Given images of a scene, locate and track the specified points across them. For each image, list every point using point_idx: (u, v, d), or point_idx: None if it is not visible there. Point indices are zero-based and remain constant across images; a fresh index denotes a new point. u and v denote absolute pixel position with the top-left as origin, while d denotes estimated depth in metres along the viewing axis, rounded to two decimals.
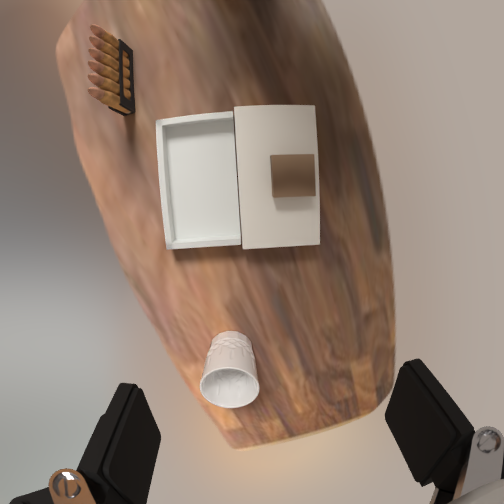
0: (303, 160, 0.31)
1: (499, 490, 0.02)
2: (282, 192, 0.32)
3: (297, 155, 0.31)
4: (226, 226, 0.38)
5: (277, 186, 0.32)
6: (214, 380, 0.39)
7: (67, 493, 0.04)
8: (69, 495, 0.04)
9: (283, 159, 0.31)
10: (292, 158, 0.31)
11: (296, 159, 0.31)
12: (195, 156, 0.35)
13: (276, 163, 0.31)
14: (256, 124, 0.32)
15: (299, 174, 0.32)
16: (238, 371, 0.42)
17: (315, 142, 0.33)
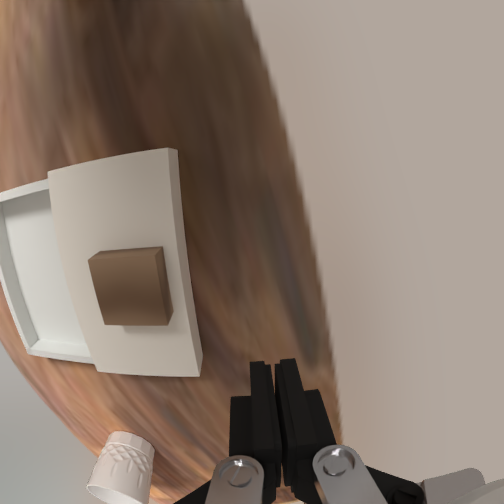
0: (137, 267, 0.17)
1: (499, 490, 0.02)
2: (114, 318, 0.18)
3: (125, 259, 0.17)
4: (82, 333, 0.23)
5: (105, 309, 0.18)
6: None
7: (231, 479, 0.05)
8: (233, 482, 0.05)
9: (105, 267, 0.17)
10: (118, 265, 0.17)
11: (125, 266, 0.17)
12: (31, 242, 0.20)
13: (96, 273, 0.17)
14: (76, 199, 0.17)
15: (134, 291, 0.17)
16: None
17: (170, 222, 0.18)
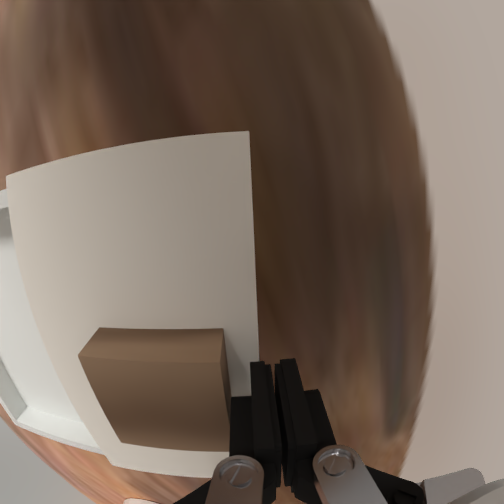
0: (180, 380, 0.08)
1: (499, 490, 0.02)
2: (138, 438, 0.09)
3: (156, 365, 0.08)
4: None
5: (120, 426, 0.09)
6: None
7: (231, 479, 0.05)
8: (232, 482, 0.05)
9: (113, 372, 0.08)
10: (141, 372, 0.08)
11: (155, 376, 0.08)
12: None
13: (97, 379, 0.08)
14: (54, 230, 0.09)
15: (174, 412, 0.09)
16: None
17: (248, 284, 0.09)
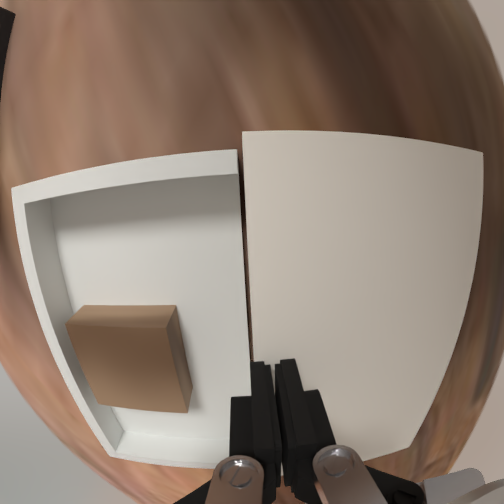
0: None
1: (499, 490, 0.02)
2: None
3: None
4: (224, 427, 0.15)
5: None
6: None
7: (231, 479, 0.05)
8: (233, 482, 0.05)
9: None
10: None
11: None
12: (129, 285, 0.12)
13: None
14: (328, 210, 0.09)
15: None
16: None
17: (472, 264, 0.10)
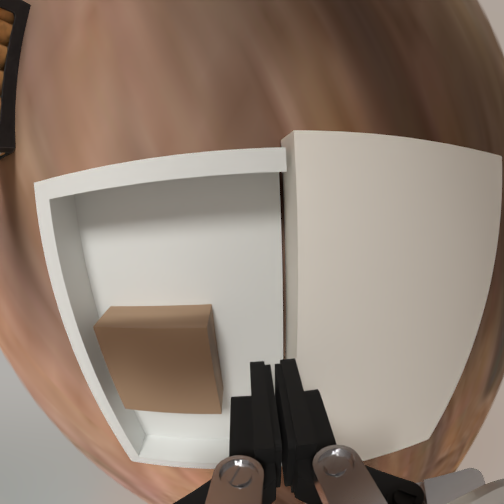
0: None
1: (499, 490, 0.02)
2: None
3: None
4: None
5: None
6: None
7: (231, 479, 0.05)
8: (232, 482, 0.05)
9: None
10: None
11: None
12: (162, 285, 0.12)
13: None
14: (372, 209, 0.09)
15: None
16: None
17: (492, 260, 0.10)
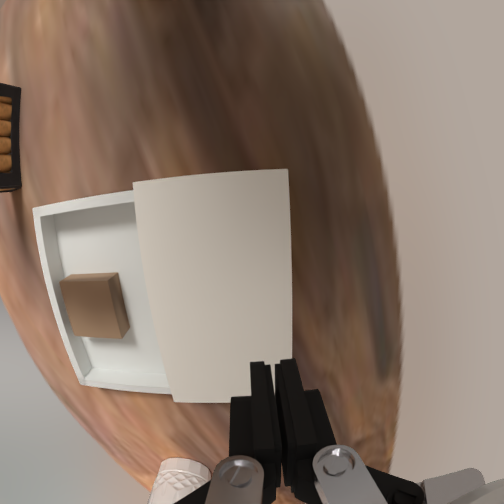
0: None
1: (499, 490, 0.02)
2: None
3: None
4: (152, 362, 0.23)
5: None
6: None
7: (231, 479, 0.05)
8: (232, 482, 0.05)
9: None
10: None
11: None
12: (94, 261, 0.21)
13: None
14: (173, 217, 0.18)
15: None
16: None
17: (287, 245, 0.18)
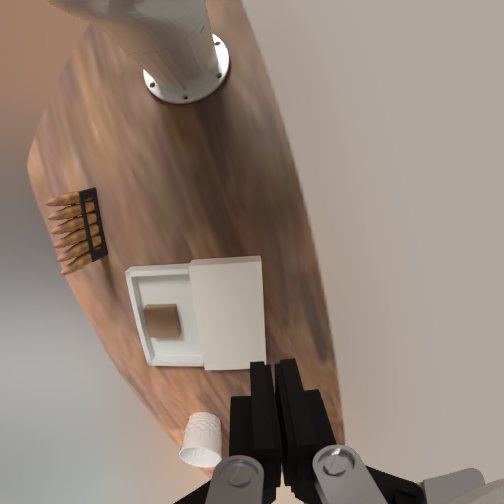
0: None
1: (499, 490, 0.02)
2: None
3: None
4: (192, 349, 0.45)
5: None
6: None
7: (231, 479, 0.05)
8: (232, 482, 0.05)
9: None
10: None
11: None
12: (162, 298, 0.42)
13: None
14: (209, 282, 0.39)
15: None
16: None
17: (261, 294, 0.40)
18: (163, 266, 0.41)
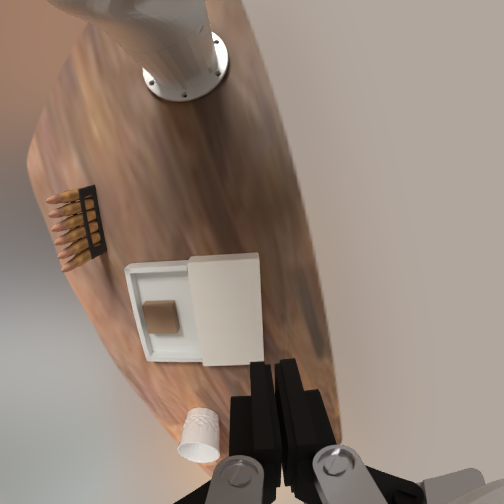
0: None
1: (499, 490, 0.02)
2: None
3: (157, 301, 0.43)
4: (191, 345, 0.45)
5: None
6: None
7: (231, 479, 0.05)
8: (232, 482, 0.05)
9: None
10: None
11: None
12: (161, 294, 0.43)
13: None
14: (207, 279, 0.40)
15: None
16: None
17: (259, 291, 0.40)
18: (162, 263, 0.41)
